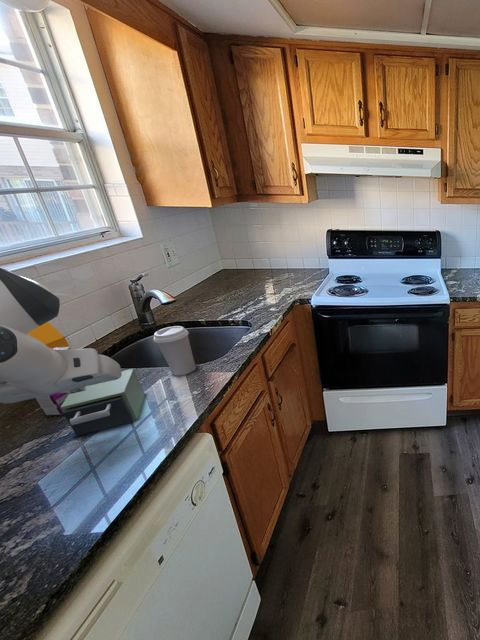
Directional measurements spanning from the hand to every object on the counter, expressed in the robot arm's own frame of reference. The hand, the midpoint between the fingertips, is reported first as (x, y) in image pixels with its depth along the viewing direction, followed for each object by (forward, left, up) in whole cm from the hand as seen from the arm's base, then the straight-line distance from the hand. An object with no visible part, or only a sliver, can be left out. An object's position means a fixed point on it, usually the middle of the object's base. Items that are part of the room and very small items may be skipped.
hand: (78, 389), depth 88 cm
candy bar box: (-12, +25, -15) cm, 31 cm away
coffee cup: (+16, +30, -15) cm, 37 cm away
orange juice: (-19, +45, -15) cm, 51 cm away
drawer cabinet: (0, +12, -15) cm, 19 cm away
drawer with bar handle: (0, +7, -14) cm, 15 cm away
